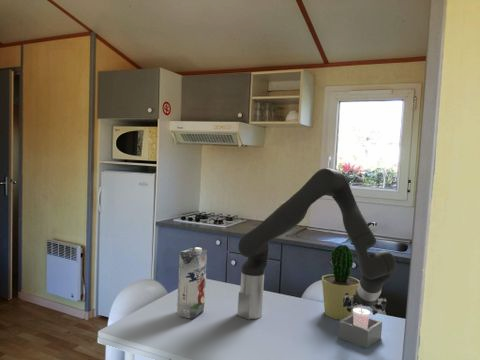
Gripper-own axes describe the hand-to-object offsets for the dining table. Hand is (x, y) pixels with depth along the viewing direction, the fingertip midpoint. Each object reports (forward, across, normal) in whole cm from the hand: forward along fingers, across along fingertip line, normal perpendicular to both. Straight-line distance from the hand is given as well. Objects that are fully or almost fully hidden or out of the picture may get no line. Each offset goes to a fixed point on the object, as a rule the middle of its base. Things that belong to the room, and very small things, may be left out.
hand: (361, 311), depth 144 cm
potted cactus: (+21, +6, -7) cm, 23 cm away
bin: (+6, 0, +7) cm, 10 cm away
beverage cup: (+6, 0, +7) cm, 9 cm away
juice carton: (+9, +65, +5) cm, 65 cm away
